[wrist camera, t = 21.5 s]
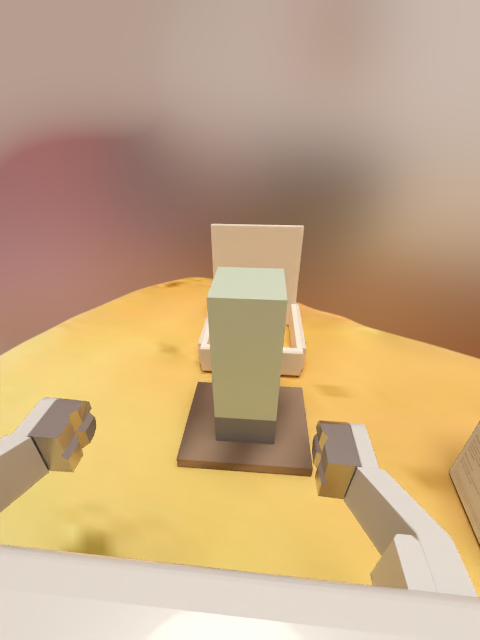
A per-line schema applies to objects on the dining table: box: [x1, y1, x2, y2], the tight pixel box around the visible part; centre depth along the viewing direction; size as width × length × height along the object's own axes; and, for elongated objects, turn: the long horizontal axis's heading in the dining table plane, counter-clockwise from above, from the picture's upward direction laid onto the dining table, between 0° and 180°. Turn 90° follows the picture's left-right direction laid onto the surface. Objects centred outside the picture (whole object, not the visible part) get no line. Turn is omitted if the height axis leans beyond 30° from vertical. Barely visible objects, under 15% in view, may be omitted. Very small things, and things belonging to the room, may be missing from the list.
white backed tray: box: [198, 224, 306, 376], centre depth 36 cm, size 12×12×14 cm
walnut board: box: [177, 382, 313, 476], centre depth 29 cm, size 11×9×1 cm
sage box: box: [207, 267, 287, 444], centre depth 25 cm, size 5×5×14 cm
